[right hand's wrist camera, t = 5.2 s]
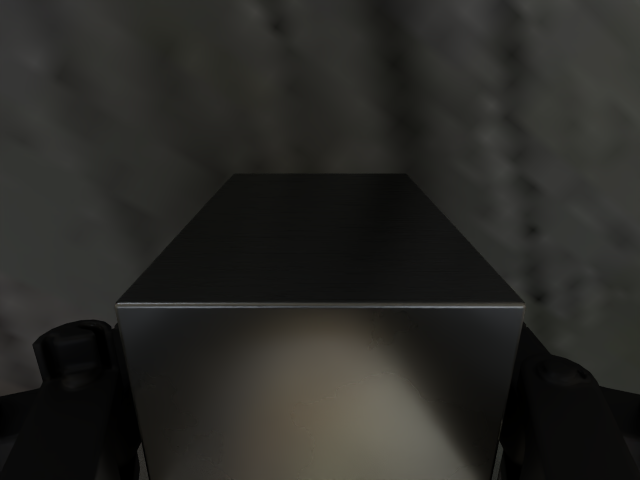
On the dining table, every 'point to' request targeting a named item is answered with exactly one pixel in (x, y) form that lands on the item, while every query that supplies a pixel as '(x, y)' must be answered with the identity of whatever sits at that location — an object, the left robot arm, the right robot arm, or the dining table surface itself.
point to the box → (320, 337)
